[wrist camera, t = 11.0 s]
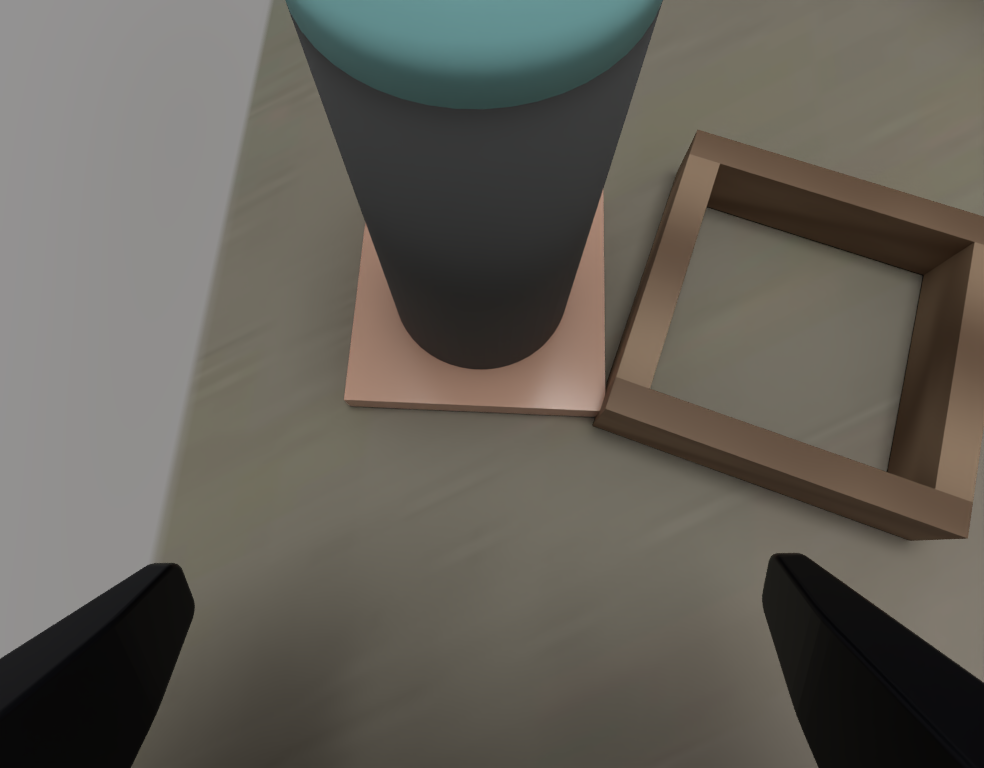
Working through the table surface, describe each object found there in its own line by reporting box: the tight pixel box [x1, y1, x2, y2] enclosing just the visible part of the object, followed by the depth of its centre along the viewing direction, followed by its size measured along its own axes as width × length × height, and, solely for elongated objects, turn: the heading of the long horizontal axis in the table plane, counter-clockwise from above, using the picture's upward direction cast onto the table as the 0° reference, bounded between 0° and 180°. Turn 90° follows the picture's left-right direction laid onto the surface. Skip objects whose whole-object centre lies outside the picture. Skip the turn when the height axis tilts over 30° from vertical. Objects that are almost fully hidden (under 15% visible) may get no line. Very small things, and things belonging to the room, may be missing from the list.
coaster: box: [344, 191, 605, 417], centre depth 19 cm, size 8×8×1 cm
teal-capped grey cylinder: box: [286, 0, 663, 369], centre depth 13 cm, size 6×6×12 cm
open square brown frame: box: [593, 130, 984, 541], centre depth 18 cm, size 10×10×2 cm
